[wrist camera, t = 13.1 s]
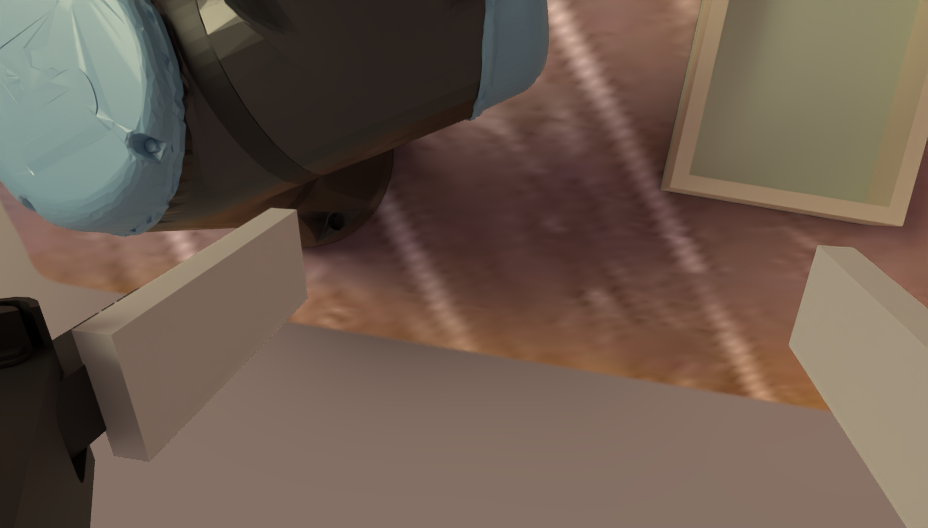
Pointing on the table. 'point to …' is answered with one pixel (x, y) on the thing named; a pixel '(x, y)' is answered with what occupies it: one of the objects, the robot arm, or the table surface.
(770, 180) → the cream long tray
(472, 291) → the table surface
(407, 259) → the table surface
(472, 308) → the table surface
